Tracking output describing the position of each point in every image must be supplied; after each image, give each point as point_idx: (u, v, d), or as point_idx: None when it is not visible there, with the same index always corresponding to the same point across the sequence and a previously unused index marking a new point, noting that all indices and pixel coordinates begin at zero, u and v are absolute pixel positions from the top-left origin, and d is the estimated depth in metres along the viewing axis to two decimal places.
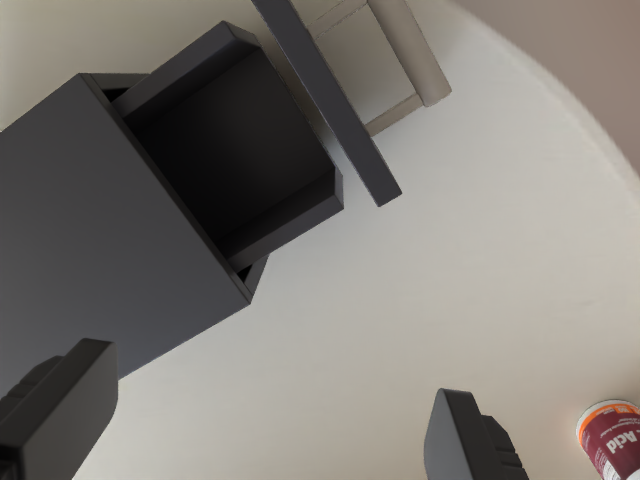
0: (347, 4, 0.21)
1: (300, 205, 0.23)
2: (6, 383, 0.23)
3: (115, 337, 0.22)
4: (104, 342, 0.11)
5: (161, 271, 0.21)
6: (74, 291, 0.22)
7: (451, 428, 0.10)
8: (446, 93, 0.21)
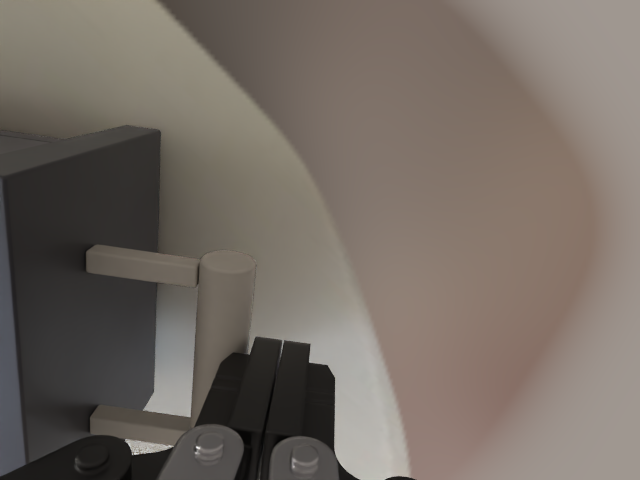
0: (164, 271, 0.12)
1: None
2: None
3: None
4: (276, 340, 0.12)
5: None
6: None
7: None
8: None
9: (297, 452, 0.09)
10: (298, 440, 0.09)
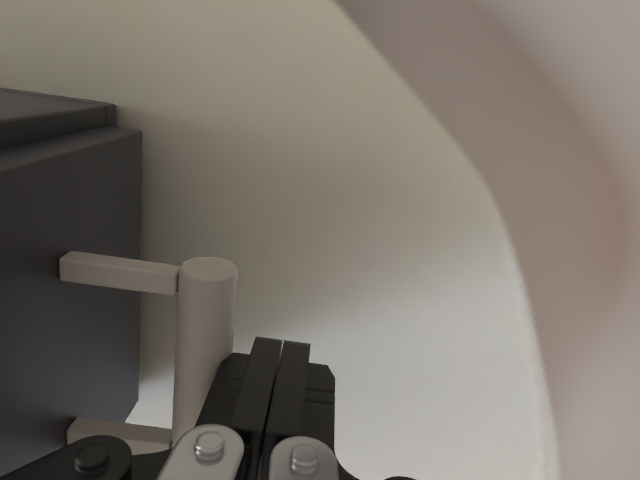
0: (142, 278, 0.11)
1: None
2: None
3: None
4: (276, 340, 0.12)
5: None
6: None
7: None
8: None
9: (297, 452, 0.09)
10: (298, 440, 0.09)
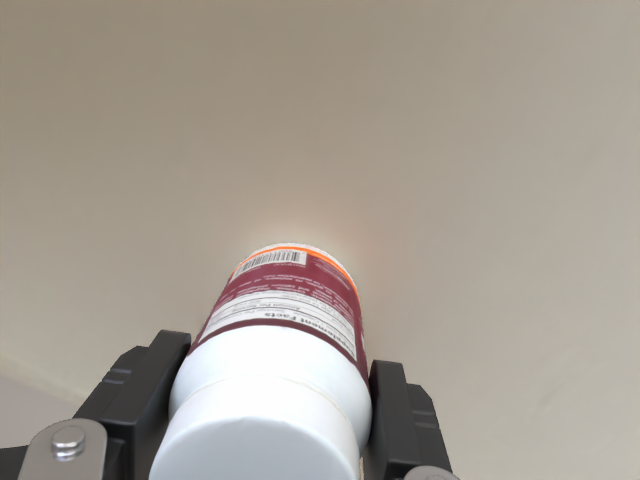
0: None
1: None
2: None
3: None
4: (181, 333, 0.12)
5: None
6: None
7: (377, 394, 0.11)
8: None
9: None
10: (425, 470, 0.09)
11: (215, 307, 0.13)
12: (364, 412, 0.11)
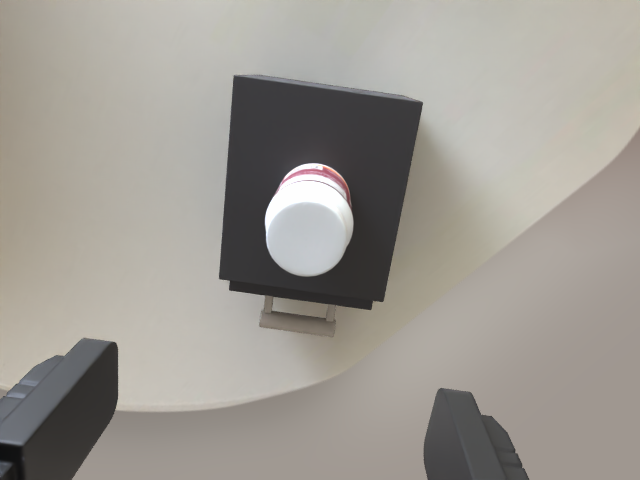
0: (332, 313, 0.38)
1: None
2: (276, 97, 0.29)
3: (253, 194, 0.31)
4: (104, 342, 0.11)
5: None
6: None
7: (451, 428, 0.10)
8: (260, 325, 0.38)
9: None
10: None
11: (280, 185, 0.28)
12: (349, 218, 0.25)
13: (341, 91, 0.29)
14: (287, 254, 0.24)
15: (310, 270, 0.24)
